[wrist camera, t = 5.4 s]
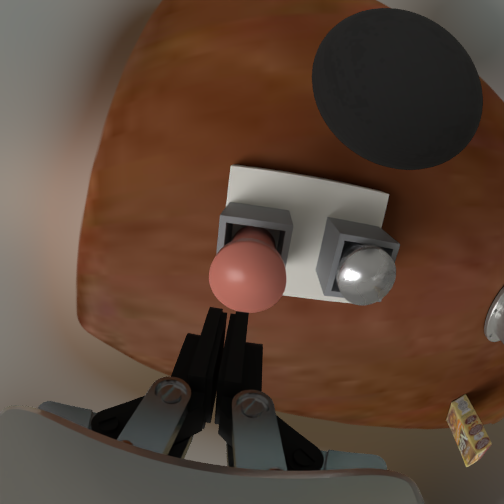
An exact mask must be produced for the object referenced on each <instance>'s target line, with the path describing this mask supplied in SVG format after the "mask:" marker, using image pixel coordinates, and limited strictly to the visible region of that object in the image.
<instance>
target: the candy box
mask: <svg viewBox="0 0 504 504" xmlns="http://www.w3.org/2000/svg"><path fill="white" fill-rule="evenodd" d="M446 420H447V422H448V425H449V427H450V429H451V431H452V434H453V436H454V438H455V440H456V443H457V445H458V447H459V450H460V452H461V455H462V457H463V460H464V462H465V465H466V467H468V466H469V465H471V464H473V463H475V462H476V461H477V460H479V459H481V457H482V456H483V455H484V453H485V452H486V451H487V450H488V448H489V447H490V446H491V444H492V443H491V441H490V439H489V437H488V435H487V433H486V431H485V429H484V427H483V425H482V423H481V421H480V419H479V417H478V415H477V414H476V412H475V410H474V408H473V406H472V405H471V403H470V401H469V399H468V397H467V396H466V394H465V395H463V396H462V397H460V398H458V399H457V400H455V401H453V402H452V403H451V407H450V410H449V413H448V417H447V419H446Z"/></svg>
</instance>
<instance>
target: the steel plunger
mask: <svg viewBox="0 0 504 504" xmlns="http://www.w3.org/2000/svg"><path fill="white" fill-rule="evenodd" d="M395 277H396V267H395V264H394V261H393V259H392V258H391V257H390V255H389V254H388V253H387V252H386V251H385V250H383V249H382V248H381V247H379V246H376V245H372V244H362V243H356V242H351V241H344V245H343V249H342V253H341V257H340V261H339V264H338V267H337V270H336V282H337V285H338V287H339V290H340V292H341V294H342V296H343V297H344V298H345V299H346V300H347V301H349V302H350V303H352V304H356V305H369V304H372V303H375V302H377V301H379V300H380V299H382V298H383V297H384V296H385V295H386V294H387V293H388V292H389V291H390V289H391V288H392V286H393V284H394V281H395Z"/></svg>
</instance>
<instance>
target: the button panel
mask: <svg viewBox="0 0 504 504" xmlns="http://www.w3.org/2000/svg"><path fill="white" fill-rule="evenodd" d="M388 198H389V194H387V193H385V192H382V191H379V190H375V189H371V188H367V187H362V186H358V185H353V184H349V183H344V182H339V181H335V180H330V179H325V178H319V177H314V176H308V175H303V174H297V173H291V172H285V171H279V170H272V169H265V168H258V167H250V166H242V165H231V168H230V177H229V185H228V194H227V203H226V208H225V209H224V211H223V212H222V213H221V215H220V221H219V232H218V243H217V253H218V252H219V250H220V249H221V248H222V247H224V246H225V245H226V244H228V243H229V242H231V241H232V239H233V237H234V235H235V234H236V232H237V231H238V230H240V229H241V228H243V227H246V226H255V227H262V228H265V229H266V230H268V231H269V232H270V233H271V234H272V236H273V238H274V240H275V247H276V250H277V251H278V252H279V254H280V255H281V257H282V259H283V261H284V264H285V269H286V287H285V291H284V293H283V295H286V296H293V297H301V298H309V299H318V300H326V301H335V302H344V303H350V302H349V301H347V300H346V299H345V298H344V297H343V296H342V294H341V292H340V290H339V287H338V285H337V282H336V270H337V267H338V264H339V261H340V257H341V253H342V249H343V245H344V241H351V242H356V243H362V244H372V245H376V246H379V247H381V248H382V249H383V250H385V251H386V252H387V253H388V254H389V255H390V257H391V258H392V259H393V261H394V263H395V260H396V256H397V253H398V250H399V246H400V244H399V243H398V242H397V241H396V240H395V239H393V238H392V237H391V236H390V235H389V234H387V233H386V232H385V231H384V230H382V229H381V227H382V223H383V219H384V215H385V211H386V207H387V202H388ZM216 255H217V254H216ZM381 300H382V299H380V300H379V301H377V302H381Z"/></svg>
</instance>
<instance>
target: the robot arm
mask: <svg viewBox="0 0 504 504" xmlns="http://www.w3.org/2000/svg"><path fill="white" fill-rule="evenodd" d="M248 315H249V313H248V312H240V311H236V314H231V315H230V320H229V325H228V330H227V335H226V340H225V345H224V339H225V329H226V319H227V313H224V312H223V309H220V308H213V307H210V308H209V311H208V314H207V317H206V320H205V323H204V326H203V330H202V333H201V335H195V334H190V333H188V334H187V336H186V338H185V341H184V343H183V346H182V349H181V351H180V354H179V357H178V359H177V362H176V364H175V367H174V370H173V373H172V375H171V377H163V378H160V379H158V380H156V381H155V382H154V383H153V384H152V386H151V387H150V389H149V390H148V392H147V393H146V395H145V396H143V397H140V398H137V399H135V400H132V401H129V402H126V403H124V404H120V405H117V406H114V407H111V408H108V409H105V410H103V411H100V412H98V413H95V412H93V411H92V410H90V409H85V408H80V407H75V406H70V405H66V404H61V403H57V402H53V401H47V402H44V403H42V404H41V405H40V406H39V407H38V408H33V407H29V406H9V407H7V408H5V409H3V410H2V411H1V412H0V504H424V501H423V498H422V495H421V493H420V491H419V489H418V487H417V485H416V484H415V482H414V481H413V480H412V479H411V478H410V477H408V476H406V475H404V474H401V473H398V472H395V471H390V470H387V466H386V463H385V461H384V460H383V459H382V458H381V457H379V456H377V455H372V454H359V453H350V452H341V451H334V450H328V452H326V451H320V450H319V449H318V448H317V447H316V446H315V445H314V444H312V443H311V442H310V441H308V440H307V439H306V438H304V437H303V436H302V435H300V434H299V433H298V432H297V431H295V430H294V429H293V428H291V427H290V426H289V425H288V424H286V423H285V422H284V421H283V420H282V419H280V418H279V417H278V416H276V413H275V408H274V404H273V401H272V399H271V398H270V397H269V396H268V395H266V394H265V393H263V392H261V389H262V355H263V345H262V344H255V343H247V342H246V334H247V324H248ZM484 333H485V336H486V337H487V338H488V340H490V341H492V342H496V341H499V340H501V341H502V343H503V344H504V287H503V288H502V289H501V290H500V292H499V293H498V295H497V296H496V298H495V300H494V301H493V303H492V305H491V307H490V309H489V312H488V314H487V317H486V320H485V326H484ZM216 392H217V396H216ZM215 397H217V398H216V411H215V424H219V431H218V434H219V435H220V436H221V437H222V438H223V439H224V440H225V441H226V452H227V453H226V454H227V466H220V465H213V464H206V463H201V462H195V461H191V460H185V459H184V458H185V455H186V453H187V451H188V449H189V446H190V444H191V442H192V439H193V435H194V434H196V433H198V432H200V431H202V429H204V427H205V423H206V422H207V423H210V422H211V418H212V413H213V407H214V402H215Z"/></svg>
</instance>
